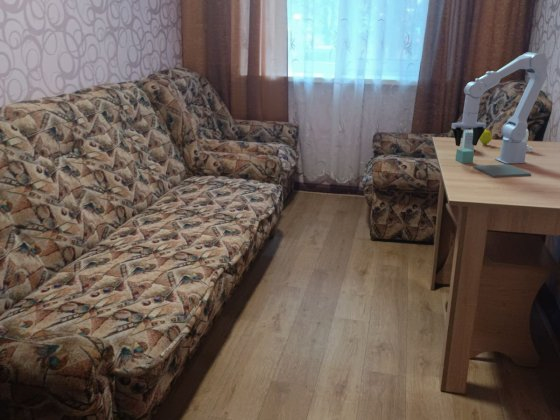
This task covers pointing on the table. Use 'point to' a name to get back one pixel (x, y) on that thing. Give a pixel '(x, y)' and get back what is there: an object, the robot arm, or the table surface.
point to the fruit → (486, 137)
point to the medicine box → (467, 140)
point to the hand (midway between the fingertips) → (466, 145)
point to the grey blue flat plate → (501, 170)
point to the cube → (464, 155)
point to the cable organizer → (529, 149)
